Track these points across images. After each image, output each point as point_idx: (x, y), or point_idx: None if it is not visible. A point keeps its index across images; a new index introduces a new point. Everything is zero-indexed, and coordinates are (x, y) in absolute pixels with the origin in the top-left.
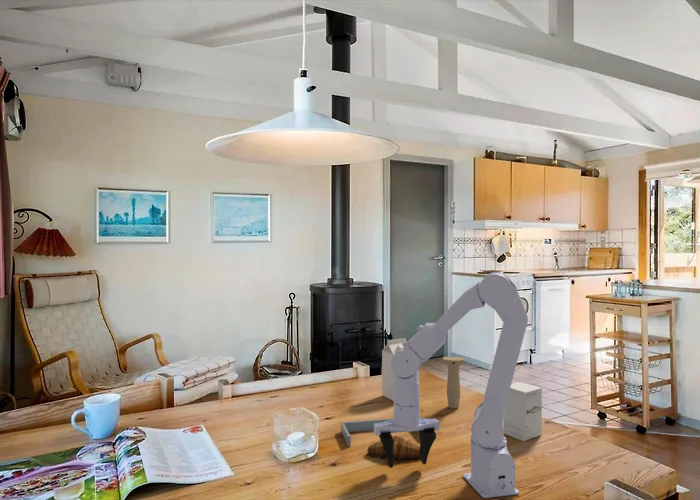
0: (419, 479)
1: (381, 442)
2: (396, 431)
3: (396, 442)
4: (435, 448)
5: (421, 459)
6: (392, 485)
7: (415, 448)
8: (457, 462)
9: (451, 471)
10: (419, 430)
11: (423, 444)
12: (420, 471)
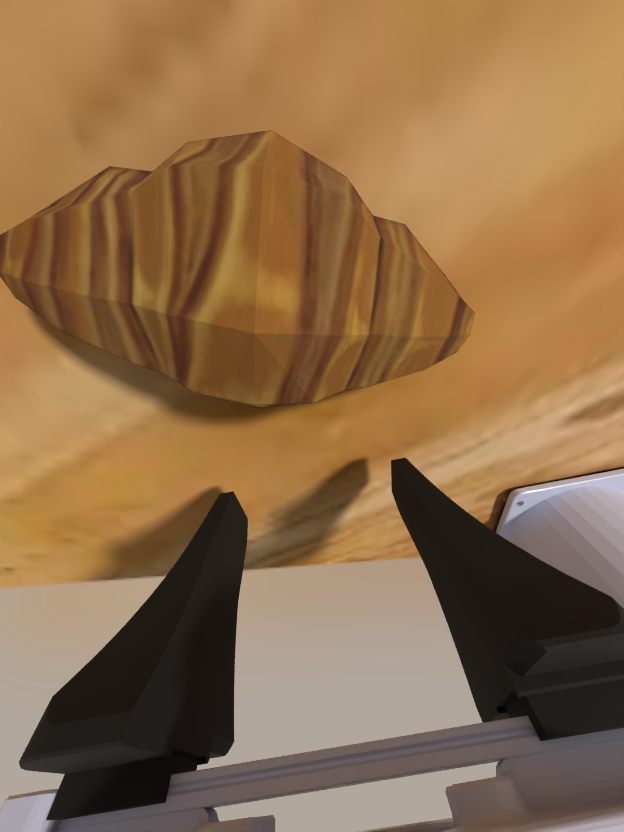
0: (349, 508)
1: (111, 313)
2: (245, 780)
3: (266, 394)
4: (610, 155)
5: (396, 483)
6: (251, 539)
7: (412, 370)
8: (577, 385)
9: (493, 458)
10: (473, 728)
11: (441, 580)
12: (370, 463)
